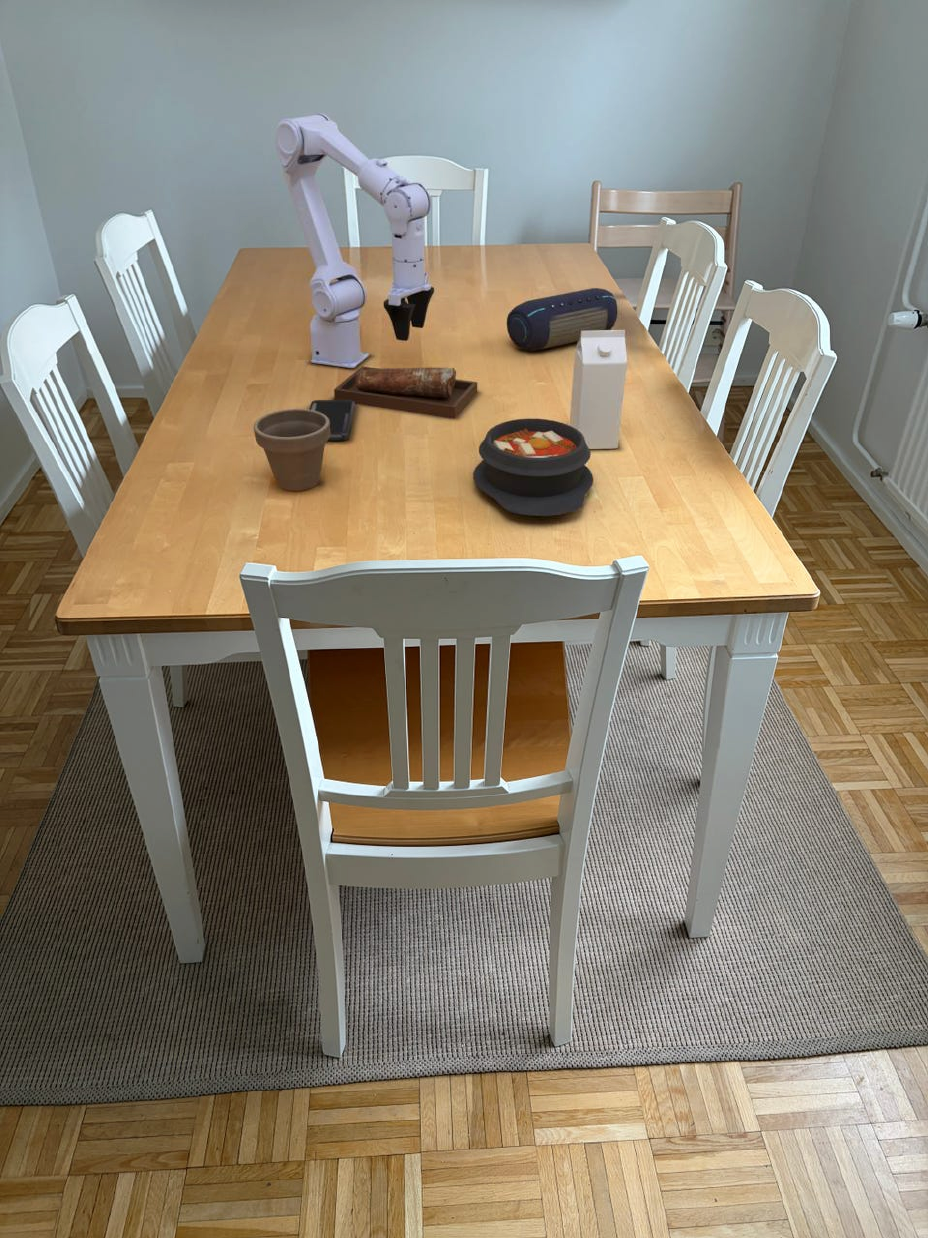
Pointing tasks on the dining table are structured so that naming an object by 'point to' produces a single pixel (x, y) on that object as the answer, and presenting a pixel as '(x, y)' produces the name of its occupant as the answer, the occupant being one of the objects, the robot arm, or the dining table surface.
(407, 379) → the brown cylinder
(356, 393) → the tray
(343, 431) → the phone
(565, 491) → the casserole
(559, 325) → the portable speaker
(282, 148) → the robot arm
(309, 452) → the flower pot
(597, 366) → the milk carton
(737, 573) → the dining table surface
